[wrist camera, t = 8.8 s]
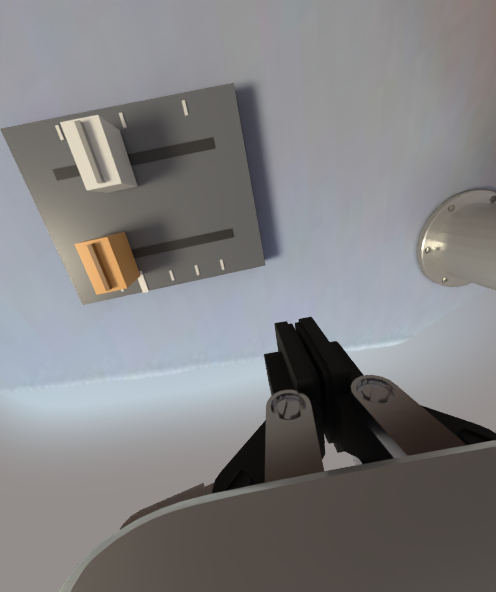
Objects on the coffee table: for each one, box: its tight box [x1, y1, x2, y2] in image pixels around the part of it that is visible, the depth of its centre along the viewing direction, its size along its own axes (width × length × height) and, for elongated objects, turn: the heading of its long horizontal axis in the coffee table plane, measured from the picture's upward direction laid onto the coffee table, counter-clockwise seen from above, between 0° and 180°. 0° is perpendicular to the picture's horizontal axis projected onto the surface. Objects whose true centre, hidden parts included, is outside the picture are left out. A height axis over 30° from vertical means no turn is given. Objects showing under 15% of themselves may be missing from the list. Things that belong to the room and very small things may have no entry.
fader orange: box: [74, 232, 141, 295], centre depth 26 cm, size 3×5×5 cm, turn 11°
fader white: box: [60, 115, 138, 193], centre depth 23 cm, size 3×5×5 cm, turn 11°
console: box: [1, 83, 265, 305], centre depth 28 cm, size 22×18×2 cm
